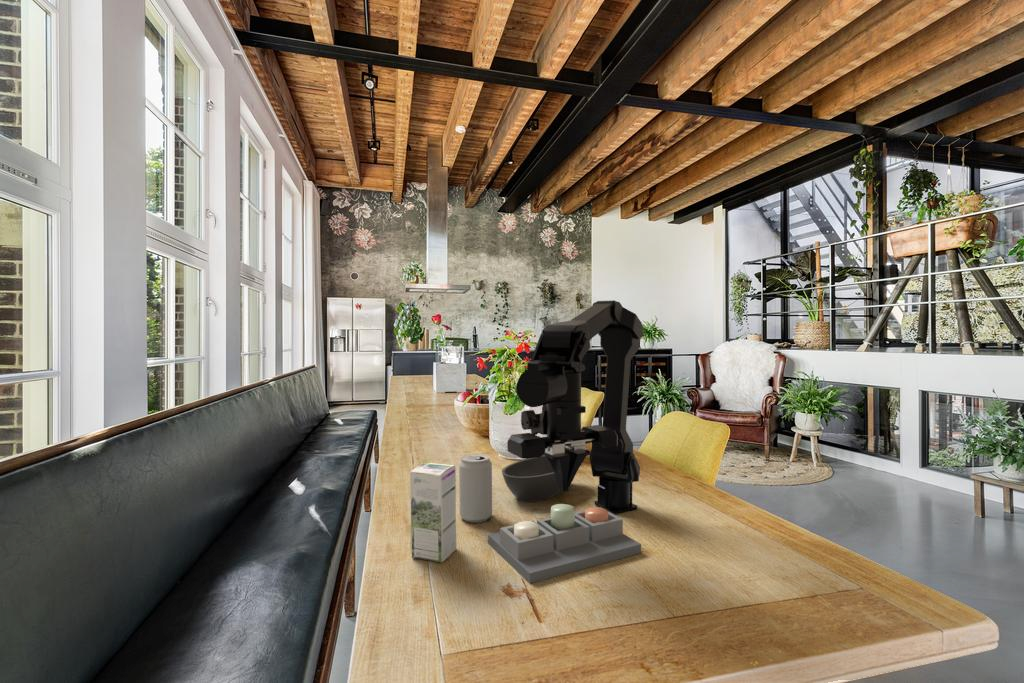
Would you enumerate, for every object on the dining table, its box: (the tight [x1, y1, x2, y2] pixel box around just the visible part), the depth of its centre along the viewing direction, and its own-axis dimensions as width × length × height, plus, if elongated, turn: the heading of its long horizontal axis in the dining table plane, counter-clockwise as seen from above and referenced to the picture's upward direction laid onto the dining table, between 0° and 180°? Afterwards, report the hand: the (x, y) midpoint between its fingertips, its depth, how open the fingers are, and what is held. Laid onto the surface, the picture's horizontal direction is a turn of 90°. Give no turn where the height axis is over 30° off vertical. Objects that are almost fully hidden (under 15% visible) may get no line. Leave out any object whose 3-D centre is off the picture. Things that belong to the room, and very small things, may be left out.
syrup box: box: [409, 462, 457, 563], centre depth 82 cm, size 6×6×14 cm
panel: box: [487, 506, 642, 584], centre depth 84 cm, size 21×15×4 cm
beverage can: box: [458, 453, 493, 523], centre depth 97 cm, size 6×6×12 cm
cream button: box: [513, 520, 539, 540], centre depth 80 cm, size 4×4×3 cm
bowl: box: [501, 455, 563, 502], centre depth 112 cm, size 12×22×6 cm, turn 135°
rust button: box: [585, 506, 609, 524], centre depth 87 cm, size 4×4×3 cm
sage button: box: [550, 503, 576, 531], centre depth 83 cm, size 4×4×3 cm
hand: (563, 491), depth 83 cm, fingers closed
